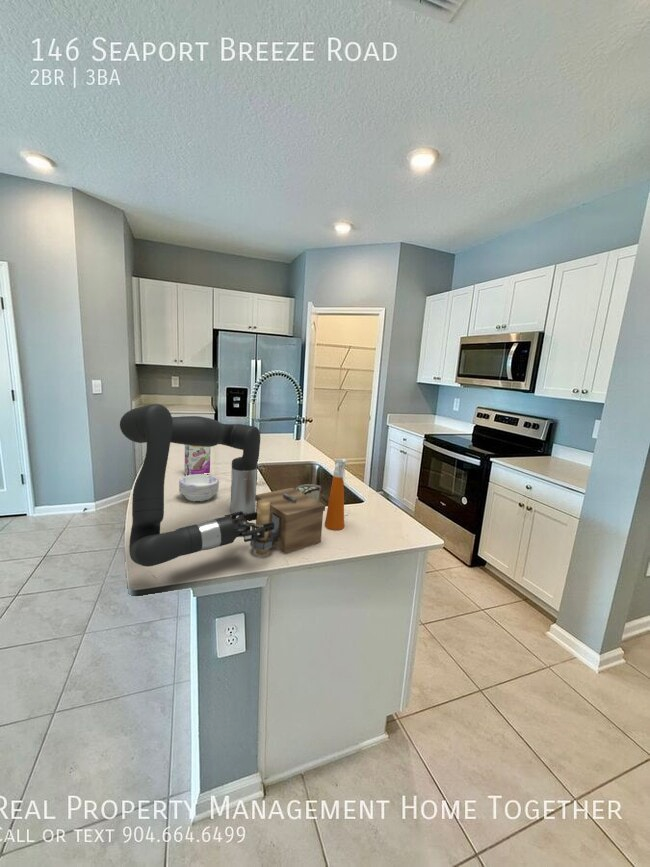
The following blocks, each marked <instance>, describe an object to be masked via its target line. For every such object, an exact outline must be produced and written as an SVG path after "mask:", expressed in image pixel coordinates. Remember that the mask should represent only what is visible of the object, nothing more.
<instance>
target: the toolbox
mask: <svg viewBox="0 0 650 867" xmlns="http://www.w3.org/2000/svg"><path fill="white" fill-rule="evenodd" d="M255 500H256V506H255V512H257V507H258V501H259V500H269V501H270V515H269V523H270V522H272V514H276V515H277V516H279V517H280V518H281V530H280V537H278V541H277V542H274V544H273V546H274V547H275V548H277V549H278V551H280V552H281V553H282V554H284V555H286V554H290V553H293V552H296V551H298V550H302V549H304V548H307V547H311V546H314V545H316V544H319V543H321V542H322V531H323V519H324V518H323V516H324V512H326V505H325V504H323V503H322V502H320V501H319V502H318V501H316V500H314V499H312V498H310V497H309V496H307V495H305V494H303V493H301V492H299V491H297V490H296V489H295V488H293V487H289V488H283V489H279V490H278V489H277V490H274V491H268V492H263V493H258V494H256V495H255ZM255 524H256V525H257V519H256V520H255ZM255 529H257V528H255ZM272 533H273V532H272V530H271V531H269V534H272Z"/></svg>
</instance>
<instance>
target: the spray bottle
mask: <svg viewBox="0 0 650 867" xmlns="http://www.w3.org/2000/svg"><path fill="white" fill-rule="evenodd" d="M347 462H348V461H347V459H346V458H338V459H336V460H335V462H334V466H335V467H334V469H333V475H332V476H333V477H332V481H331V482H332V483H331V487H330V493H329V496H328V498H329V499H328V503H327V509H326V516H325V521H324V526H325V528H327V529H328V530H331V531H339V530H342V529H344V527H345V488H344V487H345V486H344V484H346V483H347V481H346V480H347V479H346V472H345V467H346V465H347Z"/></svg>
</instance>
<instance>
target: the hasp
mask: <svg viewBox="0 0 650 867" xmlns="http://www.w3.org/2000/svg"><path fill="white" fill-rule="evenodd" d="M272 522H273V523H274V524H275V525H274V530H272V532H273V533H272V534H269V538H268V541H266V542H257V541H256V540H252V541H249V543H250V546H251V547H252V548H253V549H254V550H256V549H259V550H266V549H268V550H269V549H272V548H273V546H274V545H273V544H274V542H277V541H278V537H280V530H281V518H280V517H279V516H277V515H276V514H272Z"/></svg>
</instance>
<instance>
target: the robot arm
mask: <svg viewBox="0 0 650 867" xmlns="http://www.w3.org/2000/svg"><path fill="white" fill-rule="evenodd" d="M119 428H120V431H121V433H122V435H124V437H125V438H127V439H128V440H130V441H132V442H134V443H136V444H137V443H138V444H146V451H145V452H146V453H145V457H144V460H143V463H142V467H141V469H140V471H139V473H138V476H137V478H136V481H135V483H134V485H133V490H132V497H131V498H132V503H131V504H132V507H131V510H132V511H131V512H132V513H131V514H132V515H131V516H132V522H131V523H132V524H131V529H130V535H129V545H128V551H129V557H130V559H131V560H132V561H133V563H135V564H137V565H139V566H143V567H154V566H159V565H161V564H164V563H167V562H170V561H171V560H175V559H177V558H179V557H182V556H188V555H191V554H194V553H198V552H203V551H208V550H212V549H216V548H219V547H222V546H226V545H230V544H232V543H234V541H235V540H236V538H243V542H244V543H247V542H248V543H249V542H250V541H252V540H256V539H260V538H264V535H265V532H267V531H271V530H274V525H275V524H274V523H273V522H270V523H266V524H262V525H256V522H252V521H256V519H257V512H256V505H257V501H256V500H255V495H257V478H258V477H257V474H258V473H257V472H258V462H259V459H260V458H259V457H260V449H261V448H260V447H261V432H260V429H259V428H258V427H257V426H255V425H254V426H253V425H248V424H242V423H222V422H220V421H219V420H216V419H213V418H210V417H204V416H198V415H187V416H184V415H182V416H172V414H171V412H170V410H169V409H168V407H166V406H164V405H163V404H159V403H153V404H152V403H151V404H148V405H144V406H139V407H134V408H133V409H130V410H128V411H127V412H125V413H124V414H123V415H122V416H121V419H120V421H119ZM171 444H177V445H184V446H185V445H193V446H202V447H212V448H213V447H215V446H218V445H221V446H226V447H230V448H233V449H237V450H241V451H242V456H239V457H236V458H233V459H232V460H231V474H230V476H231V478H230V479H231V480H230V482H231V485H230V512H231V513H229V514H225V515H224V516H221V517H217V518H213V519H212V518H211V519H208V520H204V521H201V522H198V523H194V524H190V525H186V526H183V527H178V528H177V529H175V530H173V531H167V532H163V533H161V523H162V521H163V520H164V517H165V516H164V515H165V510H164V509H165V480H166V472H167V464H168V460H169V454H170V447H171ZM256 528H259V529H256Z"/></svg>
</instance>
